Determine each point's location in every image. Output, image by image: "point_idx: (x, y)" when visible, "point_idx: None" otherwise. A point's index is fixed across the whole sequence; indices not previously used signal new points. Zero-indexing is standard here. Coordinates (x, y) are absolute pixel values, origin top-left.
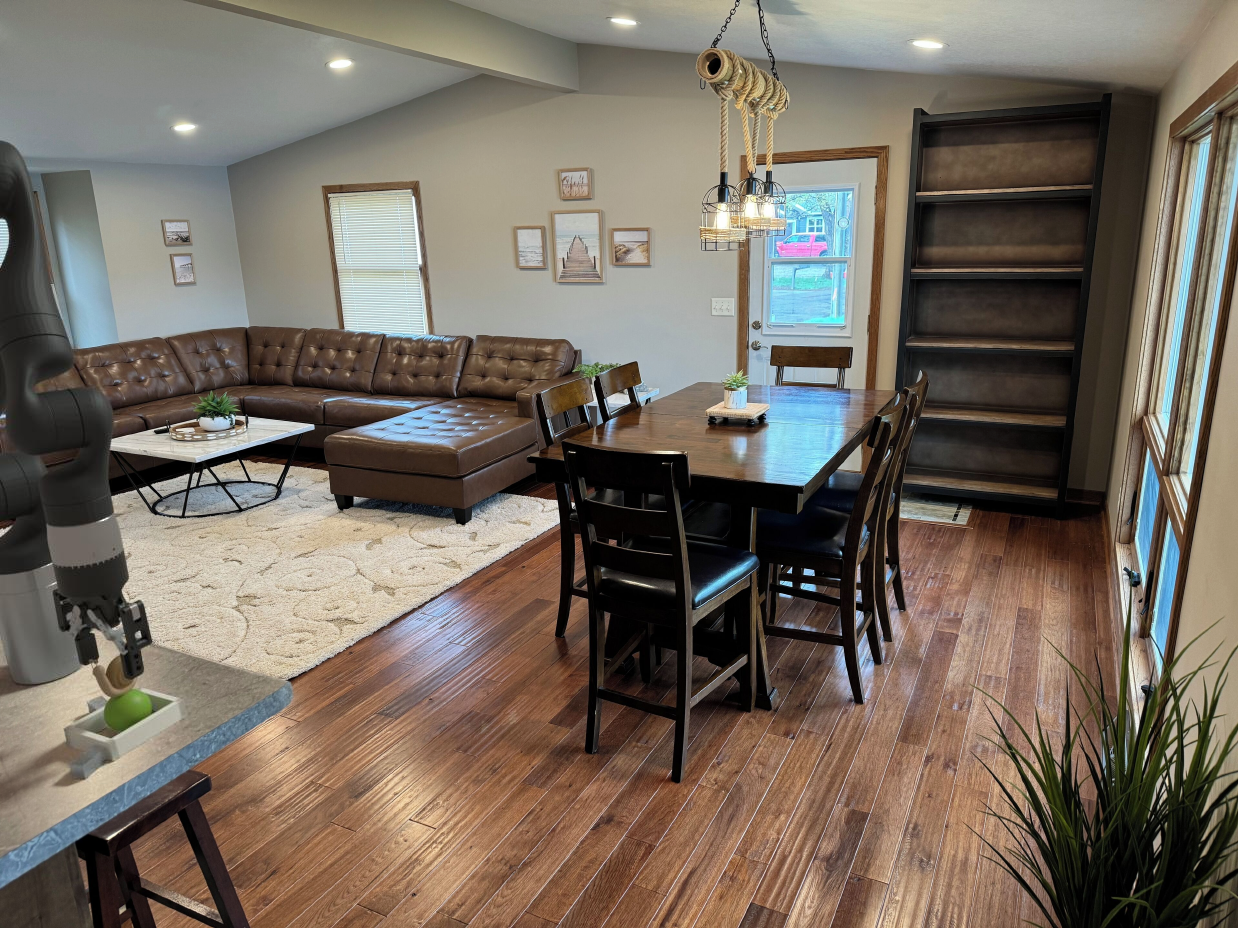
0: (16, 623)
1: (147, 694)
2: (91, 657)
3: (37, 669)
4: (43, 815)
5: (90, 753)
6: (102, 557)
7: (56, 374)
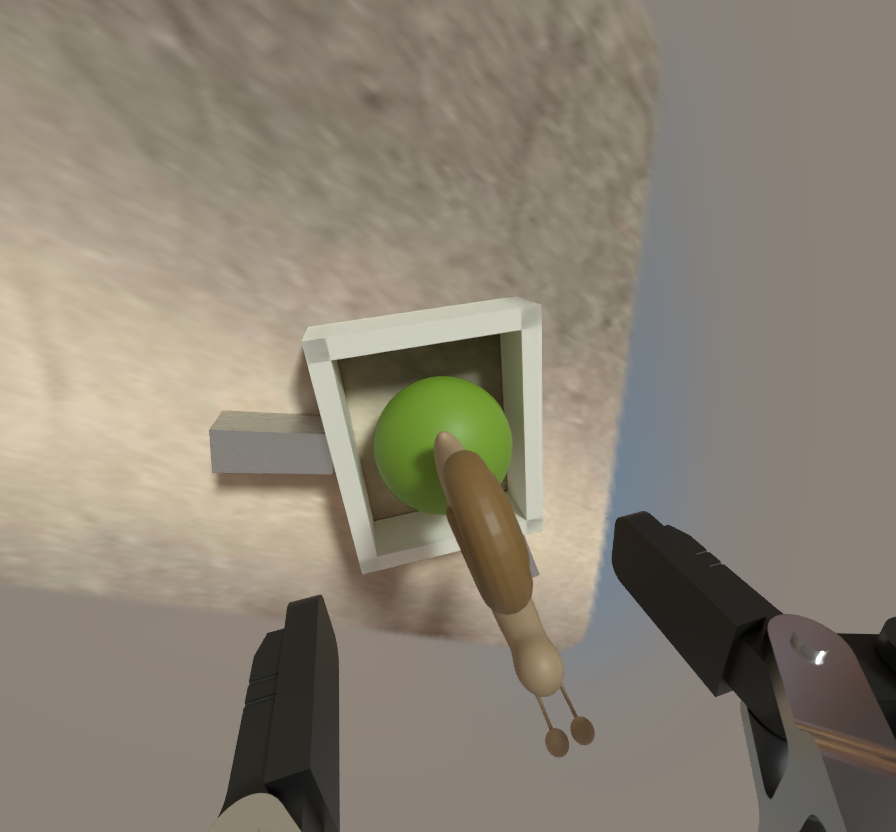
0: None
1: (384, 351)
2: (326, 639)
3: None
4: (553, 616)
5: None
6: None
7: None
